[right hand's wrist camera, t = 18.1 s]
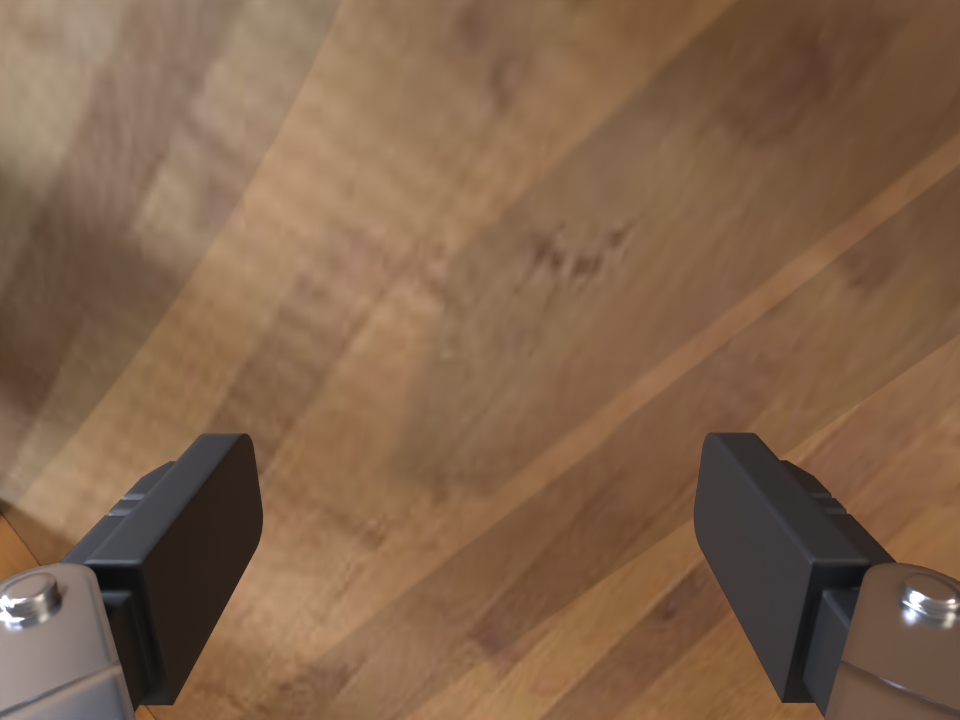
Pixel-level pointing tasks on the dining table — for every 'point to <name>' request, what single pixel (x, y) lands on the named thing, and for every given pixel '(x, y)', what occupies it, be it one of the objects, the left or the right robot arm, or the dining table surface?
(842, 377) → the dining table surface
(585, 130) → the dining table surface
